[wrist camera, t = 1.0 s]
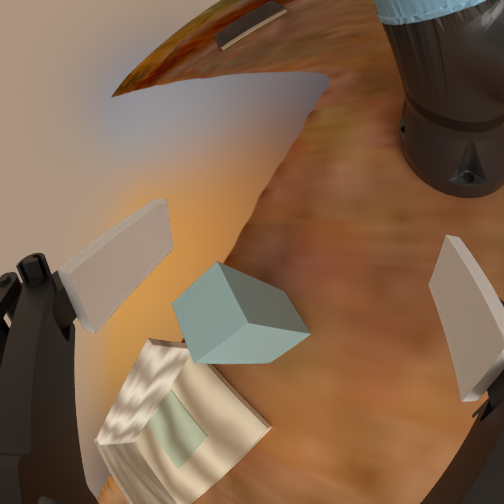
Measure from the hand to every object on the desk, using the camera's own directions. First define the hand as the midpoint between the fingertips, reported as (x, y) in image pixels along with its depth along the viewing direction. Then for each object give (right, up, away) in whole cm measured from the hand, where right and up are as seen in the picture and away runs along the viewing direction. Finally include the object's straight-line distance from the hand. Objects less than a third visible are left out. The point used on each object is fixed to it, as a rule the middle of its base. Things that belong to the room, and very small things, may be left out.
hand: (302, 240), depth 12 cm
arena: (-12, -27, +20) cm, 36 cm away
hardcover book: (-2, +68, +53) cm, 86 cm away
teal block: (+1, -9, +19) cm, 21 cm away
